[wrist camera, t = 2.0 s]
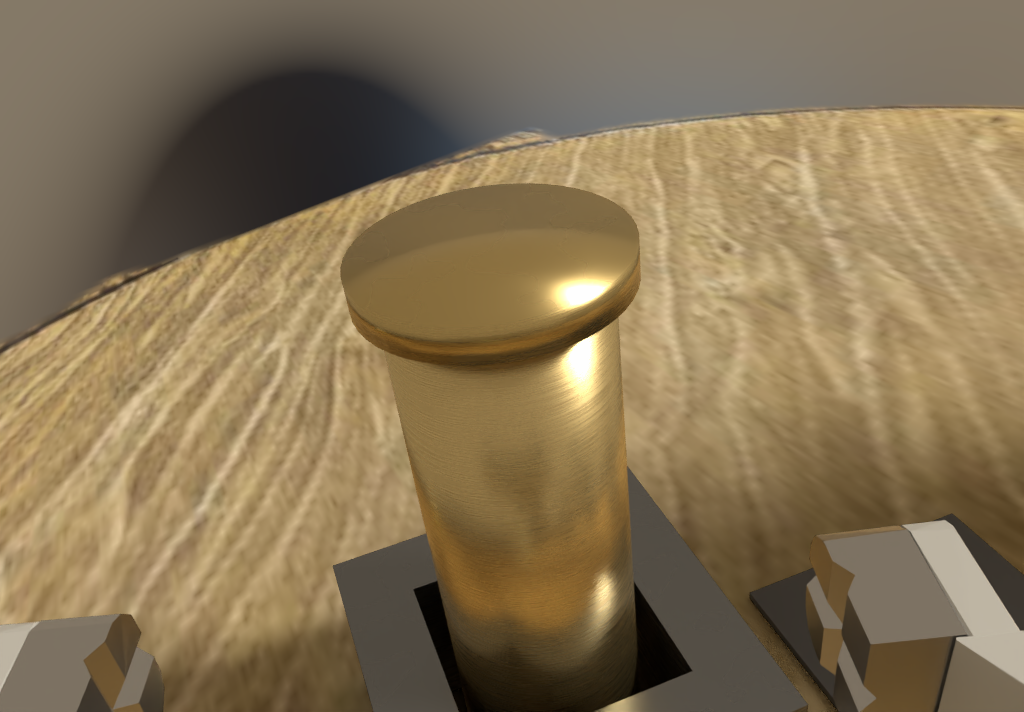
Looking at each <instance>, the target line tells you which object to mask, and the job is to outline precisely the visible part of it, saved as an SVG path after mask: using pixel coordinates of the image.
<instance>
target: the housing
mask: <svg viewBox="0 0 1024 712" xmlns="http://www.w3.org/2000/svg"><path fill="white" fill-rule="evenodd" d="M627 476H628V493H629V510H630V528H631V545H632V562H633V579H634V597H635V614H636V631H637V649H638V666H639V683H640V691H641V692H640V693H638V694H635V695H633V696H630V697H628V698H625V699H623V700H621V701H618V702H616V703H613V704H611V705H608V706H606V707H603V708H601V709H598V710H596V711H594V712H807V709H808V704H807V703H806V701H805V700H804V699H803V697H802V696H801V695H800V694H799V692H798V691H797V690H796V688H795V687H794V686H793V684H792V683H791V682H790V680H789V679H788V678H787V676H786V675H785V674H784V672H783V671H782V670H781V668H780V667H779V666H778V664H777V663H776V662H775V661H774V659H773V658H772V657H771V655H770V654H769V653H768V651H767V650H766V649H765V647H764V646H763V645H762V643H761V642H760V641H759V639H758V638H757V637H756V635H755V634H754V633H753V631H752V630H751V629H750V627H749V626H748V625H747V624H746V622H745V621H744V620H743V618H742V617H741V616H740V614H739V613H738V612H737V610H736V609H735V608H734V606H733V605H732V604H731V602H730V601H729V600H728V598H727V597H726V596H725V594H724V593H723V592H722V591H721V589H720V588H719V587H718V585H717V584H716V583H715V581H714V580H713V579H712V577H711V576H710V575H709V573H708V572H707V571H706V569H705V568H704V567H703V565H702V564H701V563H700V561H699V560H698V559H697V557H696V556H695V555H694V554H693V552H692V551H691V550H690V548H689V547H688V546H687V544H686V543H685V542H684V540H683V539H682V538H681V536H680V535H679V534H678V532H677V531H676V530H675V528H674V527H673V526H672V524H671V523H670V522H669V521H668V519H667V518H666V517H665V515H664V514H663V513H662V511H661V510H660V509H659V507H658V506H657V505H656V503H655V502H654V501H653V499H652V498H651V497H650V495H649V494H648V493H647V491H646V490H645V489H644V487H643V486H642V485H641V484H640V482H639V481H638V480H637V478H636V477H635V476H634V474H633V473H632V472H631V470H630V469H629V468H628V466H627ZM333 569H334V572H335V576H336V579H337V583H338V587H339V590H340V594H341V597H342V601H343V604H344V608H345V612H346V615H347V619H348V622H349V626H350V629H351V633H352V637H353V640H354V644H355V647H356V651H357V654H358V658H359V662H360V665H361V669H362V672H363V676H364V679H365V683H366V687H367V690H368V694H369V697H370V701H371V704H372V708H373V712H459V711H458V709H457V706H456V703H455V700H454V698H453V695H452V692H451V691H453V690H456V689H458V688H461V687H462V685H461V680H460V676H459V672H458V667H457V663H456V659H455V655H454V650H453V646H452V642H451V637H450V633H449V629H448V624H447V620H446V616H445V611H444V607H443V603H442V598H441V594H440V590H439V586H438V581H437V577H436V573H435V568H434V564H433V560H432V555H431V551H430V547H429V542H428V538H427V534H424V535H421V536H418V537H415V538H412V539H409V540H406V541H403V542H400V543H398V544H395V545H392V546H389V547H386V548H383V549H380V550H377V551H374V552H371V553H368V554H366V555H363V556H360V557H357V558H354V559H351V560H348V561H345V562H342V563H339V564H336V565H333Z"/></svg>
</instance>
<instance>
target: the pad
mask: <svg viewBox="0 0 1024 712" xmlns="http://www.w3.org/2000/svg"><path fill="white" fill-rule="evenodd" d="M942 520H946V521H947V522H948V523H950V524H951V525H953V526H954V528H955V529H956V531H957V532H958V534H959V536H960V537H961V539H962V540H963V542H964V543H965V545H966V547H967V548H968V550H969V551H970V553H971V554H972V556H973V558H974V559H975V561H976V562H977V564H978V565H979V567H980V569H981V570H982V572H983V573H984V575H985V576H986V578H987V580H988V581H989V583H990V584H991V586H992V587H993V589H994V591H995V592H996V594H997V595H998V597H999V598H1000V600H1001V602H1002V603H1003V605H1004V606H1005V608H1006V609H1007V611H1008V613H1009V614H1010V616H1011V617H1012V619H1013V620H1014V622H1015V623H1016V625H1017V627H1018V628H1019V630H1020V631H1023V630H1024V575H1023V574H1022V573H1020V572H1019V571H1018V570H1017V569H1016V568H1015V567H1013V566H1012V565H1011V564H1010V563H1009V562H1008V561H1007V560H1005V559H1004V558H1003V557H1002V556H1001V555H1000V554H998V553H997V552H996V551H995V550H994V549H993V548H991V547H990V546H989V545H988V544H987V543H986V542H985V541H983V540H982V539H981V538H980V537H979V536H978V535H976V534H975V533H974V532H973V531H972V530H971V529H970V528H968V527H967V526H966V525H965V524H964V523H963V522H961V521H960V520H959V519H958V518H957V517H956V516H954V515H953V514H950V515H947V516H944V517H942V518H939V519H937V520H934V521H942ZM932 522H933V521H932ZM815 576H816V573H815V571H814V568H812V569H809V570H807V571H804V572H802V573H799V574H796V575H794V576H791V577H789V578H786V579H784V580H781V581H779V582H776V583H774V584H771V585H768V586H766V587H763V588H761V589H758V590H756V591H753V592H751V593H750V599H751V600H752V601H753V603H754V604H755V605H756V607H757V608H758V609H759V610H760V612H761V613H762V614H763V615H764V617H765V618H766V619H767V621H768V622H769V623H770V624H771V626H772V627H773V628H774V630H775V631H776V632H777V633H778V635H779V636H780V637H781V638H782V640H783V641H784V642H785V644H786V645H787V646H788V647H789V649H790V650H791V651H792V652H793V654H794V655H795V656H796V658H797V659H798V660H799V661H800V663H801V664H802V665H803V666H804V668H805V669H806V670H807V672H808V673H809V674H810V675H811V677H812V678H813V679H814V680H815V682H816V683H817V684H818V686H819V687H820V688H821V689H822V691H823V692H824V693H825V694H826V696H827V697H828V698H829V700H830V701H831V702H832V703H833V705H834V706H835V707H836V708H837V706H836V704H835V701H834V699H833V692H834V684H835V675H834V674H833V673H831V672H830V671H829V670H827V669H826V668H825V667H823V666H822V665H821V664H820V663H819V660H818V657H817V655H816V652H815V649H814V647H813V643H812V640H811V636H810V632H809V629H808V622H807V614H806V605H805V604H806V588H807V584H808V583H809V582H810V581H811V580H812V579H813V578H814V577H815ZM837 710H838V709H837Z"/></svg>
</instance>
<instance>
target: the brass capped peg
mask: <svg viewBox="0 0 1024 712" xmlns="http://www.w3.org/2000/svg"><path fill="white" fill-rule="evenodd" d="M341 280H342V284H343V288H344V292H345V296H346V300H347V304H348V308H349V312H350V316H351V319H352V322H353V324H354V325H355V327H356V329H357V330H358V332H359V333H360V334H361V335H362V336H363V337H364V338H365V339H366V340H368V341H369V342H371V343H372V344H373V345H375V346H376V347H378V348H380V349H382V350H384V353H385V357H386V361H387V365H388V370H389V374H390V378H391V383H392V387H393V391H394V396H395V400H396V404H397V409H398V413H399V417H400V422H401V426H402V430H403V435H404V439H405V443H406V447H407V452H408V456H409V460H410V465H411V469H412V473H413V478H414V482H415V486H416V491H417V495H418V499H419V504H420V508H421V512H422V516H423V521H424V525H425V529H426V534H427V538H428V542H429V547H430V551H431V555H432V560H433V564H434V568H435V573H436V577H437V581H438V586H439V590H440V594H441V598H442V603H443V607H444V611H445V616H446V620H447V624H448V629H449V633H450V637H451V642H452V646H453V650H454V655H455V659H456V663H457V667H458V672H459V676H460V680H461V685H462V689H463V693H464V698H465V702H466V706H467V711H468V712H594V711H596V710H598V709H601V708H603V707H606V706H608V705H611V704H613V703H616V702H618V701H621V700H623V699H625V698H628V697H630V696H633V695H635V694H638V693H640V683H639V666H638V649H637V631H636V614H635V597H634V579H633V562H632V545H631V528H630V510H629V493H628V476H627V458H626V441H625V424H624V407H623V389H622V372H621V355H620V337H619V320H618V317H619V316H620V315H621V314H622V313H623V312H624V311H625V310H626V309H627V307H628V306H629V305H630V304H631V302H632V301H633V299H634V297H635V295H636V293H637V291H638V289H639V285H640V281H641V271H640V246H639V232H638V229H637V225H636V223H635V222H634V220H633V219H632V217H631V216H630V215H629V214H628V213H627V212H626V211H625V210H624V209H623V208H621V207H620V206H618V205H617V204H616V203H614V202H612V201H610V200H608V199H606V198H604V197H602V196H599V195H596V194H594V193H591V192H587V191H584V190H580V189H576V188H570V187H565V186H557V185H548V184H530V183H529V184H500V185H490V186H482V187H475V188H469V189H463V190H459V191H454V192H450V193H446V194H442V195H439V196H435V197H432V198H428V199H426V200H423V201H420V202H417V203H414V204H412V205H409V206H407V207H405V208H402V209H400V210H398V211H396V212H394V213H392V214H390V215H388V216H386V217H385V218H383V219H381V220H380V221H378V222H376V223H375V224H373V225H372V226H371V227H369V228H368V229H367V230H365V231H364V232H363V233H362V234H361V235H360V236H359V237H358V238H357V239H356V240H355V241H354V242H353V243H352V245H351V246H350V247H349V248H348V250H347V252H346V254H345V256H344V257H343V260H342V264H341Z"/></svg>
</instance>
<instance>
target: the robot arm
mask: <svg viewBox="0 0 1024 712" xmlns="http://www.w3.org/2000/svg"><path fill="white" fill-rule="evenodd" d="M809 559H810V561H811V564H812V566H813V568H814V571H815V573H816V576H815V577H814V578H813V579H812V580H811V581H810V582H809V583H808V584H807V588H806V604H805V605H806V614H807V622H808V629H809V632H810V636H811V640H812V643H813V647H814V649H815V652H816V655H817V657H818V660H819V663H820V664H821V665H822V666H823V667H825V668H826V669H827V670H829V671H830V672H831V673H833V674H834V675H835V684H834V692H833V699H834V701H835V704H836V706H837V709H838V711H839V712H1024V630H1023V631H1020V630H1019V628H1018V627H1017V625H1016V623H1015V622H1014V620H1013V619H1012V617H1011V616H1010V614H1009V613H1008V611H1007V609H1006V608H1005V606H1004V605H1003V603H1002V602H1001V600H1000V598H999V597H998V595H997V594H996V592H995V591H994V589H993V587H992V586H991V584H990V583H989V581H988V580H987V578H986V576H985V575H984V573H983V572H982V570H981V569H980V567H979V565H978V564H977V562H976V561H975V559H974V558H973V556H972V554H971V553H970V551H969V550H968V548H967V547H966V545H965V543H964V542H963V540H962V539H961V537H960V536H959V534H958V532H957V531H956V529H955V528H954V526H953V525H951V524H950V523H948V522H947V521H946V520H942V521H933V522H924V523H916V524H907V525H901V526H897V525H896V526H888V527H880V528H872V529H863V530H855V531H847V532H839V533H831V534H823V535H815V537H814V539H813V541H812V543H811V549H810V558H809ZM140 636H141V631H140V629H139V627H138V626H137V624H136V622H135V621H134V619H133V617H132V615H129V614H114V615H103V616H91V617H79V618H68V619H56V620H44V621H39V622H28V623H17V624H6V625H0V712H163V704H164V684H163V679H162V675H161V670H160V668H159V666H158V664H157V662H156V660H155V658H154V657H153V656H152V655H150V654H148V653H146V652H145V651H143V650H141V649H140V648H138V647H137V644H138V641H139V639H140Z"/></svg>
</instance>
